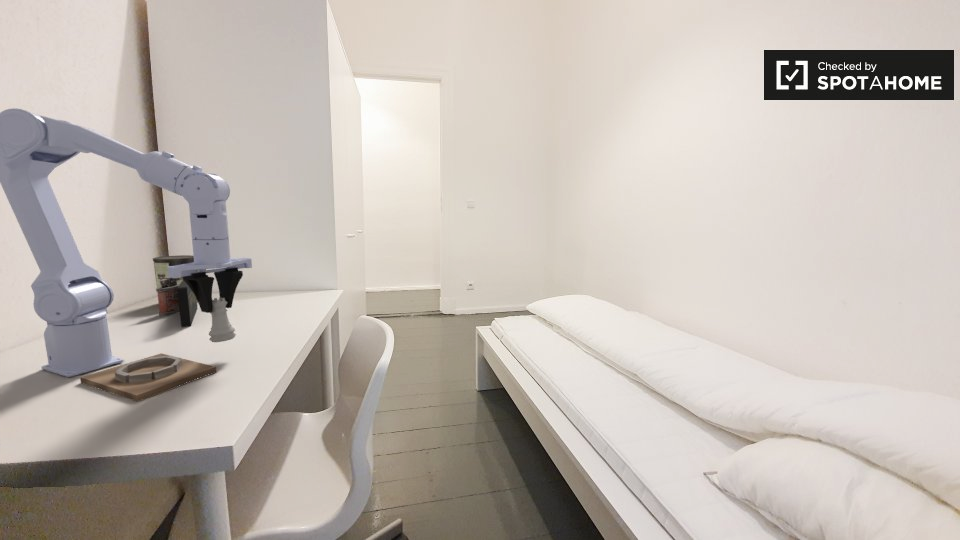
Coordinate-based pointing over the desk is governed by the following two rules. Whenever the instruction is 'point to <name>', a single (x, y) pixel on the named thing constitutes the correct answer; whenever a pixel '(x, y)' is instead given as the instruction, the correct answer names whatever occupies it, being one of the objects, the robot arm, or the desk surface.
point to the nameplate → (186, 304)
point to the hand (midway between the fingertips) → (216, 309)
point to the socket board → (147, 376)
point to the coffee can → (167, 261)
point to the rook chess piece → (220, 322)
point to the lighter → (168, 296)
